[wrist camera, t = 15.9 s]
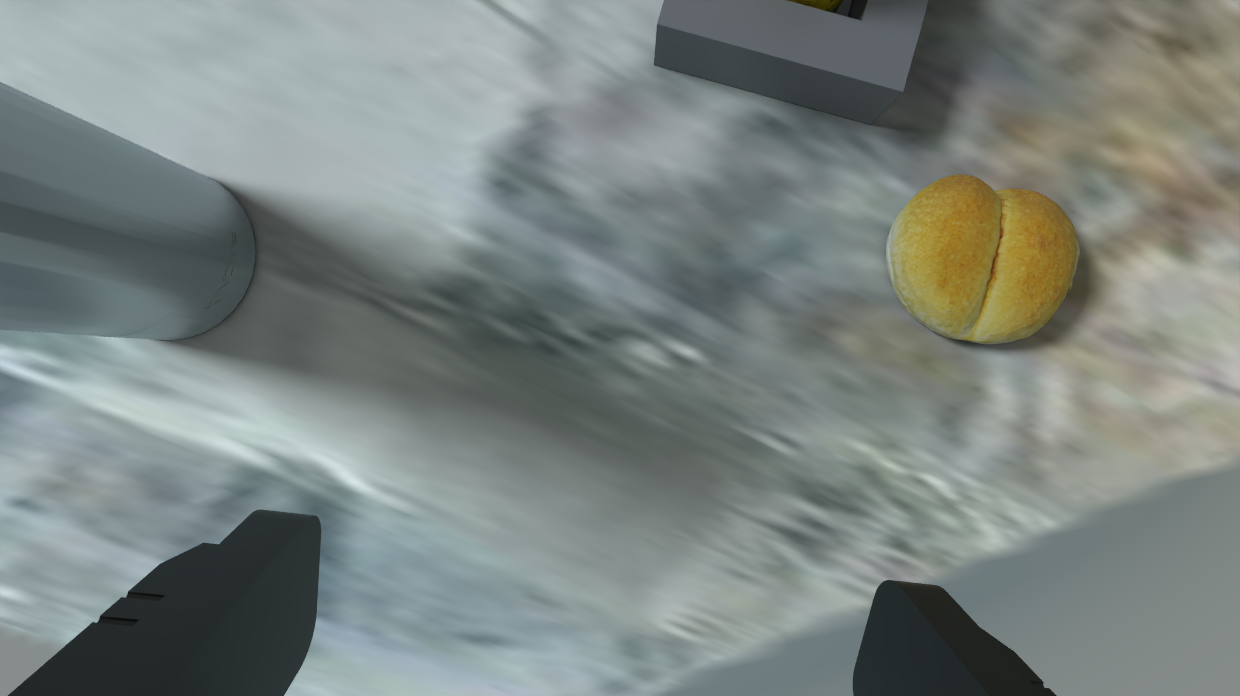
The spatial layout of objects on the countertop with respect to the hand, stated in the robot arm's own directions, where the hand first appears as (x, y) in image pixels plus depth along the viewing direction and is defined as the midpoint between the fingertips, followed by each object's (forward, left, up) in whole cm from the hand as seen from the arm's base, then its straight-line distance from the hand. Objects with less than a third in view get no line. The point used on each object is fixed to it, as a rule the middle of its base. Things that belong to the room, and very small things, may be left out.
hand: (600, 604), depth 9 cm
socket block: (+2, +25, -24) cm, 35 cm away
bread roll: (+15, +14, -25) cm, 32 cm away
